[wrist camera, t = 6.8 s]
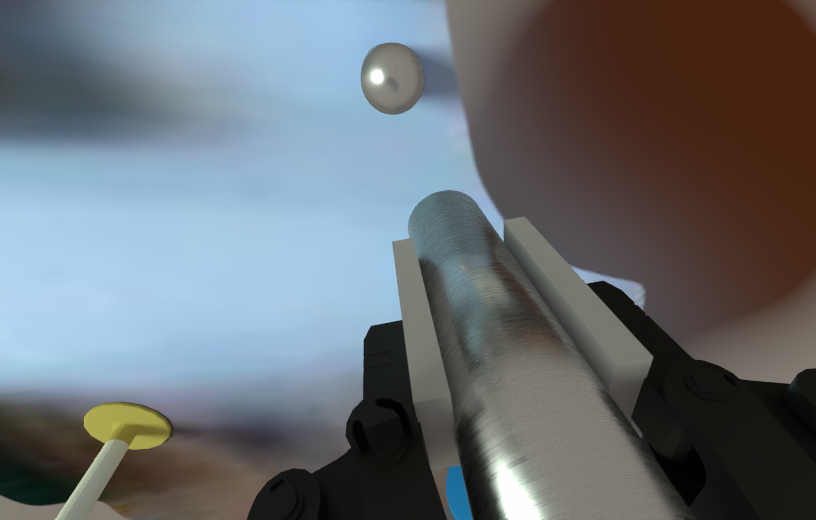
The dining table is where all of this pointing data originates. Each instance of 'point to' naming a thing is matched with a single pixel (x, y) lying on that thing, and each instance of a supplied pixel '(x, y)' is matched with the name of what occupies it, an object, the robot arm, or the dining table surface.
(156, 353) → the dining table surface
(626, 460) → the long pin
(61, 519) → the candlestick
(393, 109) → the medium pin
